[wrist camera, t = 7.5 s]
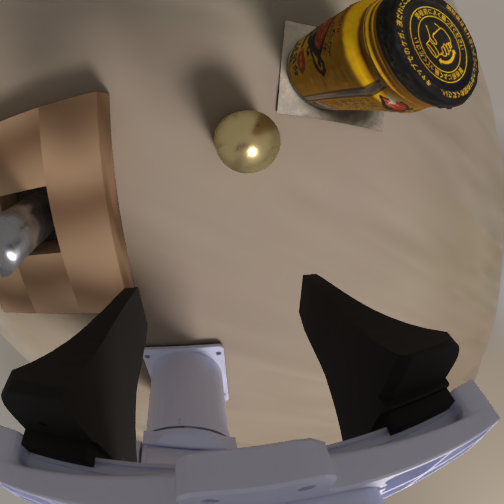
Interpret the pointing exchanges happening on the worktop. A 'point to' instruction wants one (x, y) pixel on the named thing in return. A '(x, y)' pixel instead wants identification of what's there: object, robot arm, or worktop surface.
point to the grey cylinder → (23, 230)
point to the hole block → (66, 207)
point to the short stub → (247, 141)
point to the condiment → (377, 62)
